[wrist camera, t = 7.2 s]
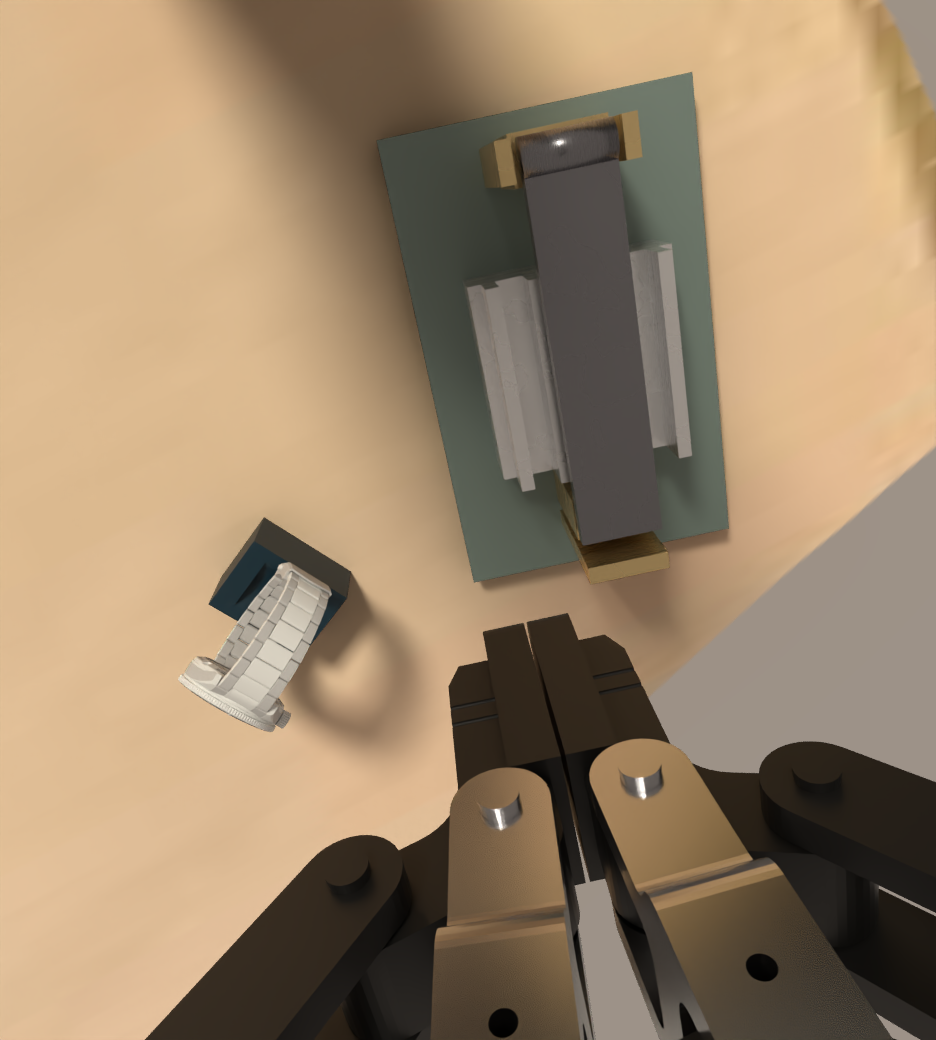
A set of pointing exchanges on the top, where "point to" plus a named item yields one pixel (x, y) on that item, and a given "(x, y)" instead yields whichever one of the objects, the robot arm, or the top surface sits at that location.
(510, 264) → the board
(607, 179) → the strap
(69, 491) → the top surface
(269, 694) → the watch
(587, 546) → the clip posts
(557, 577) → the top surface
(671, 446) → the heat sink
